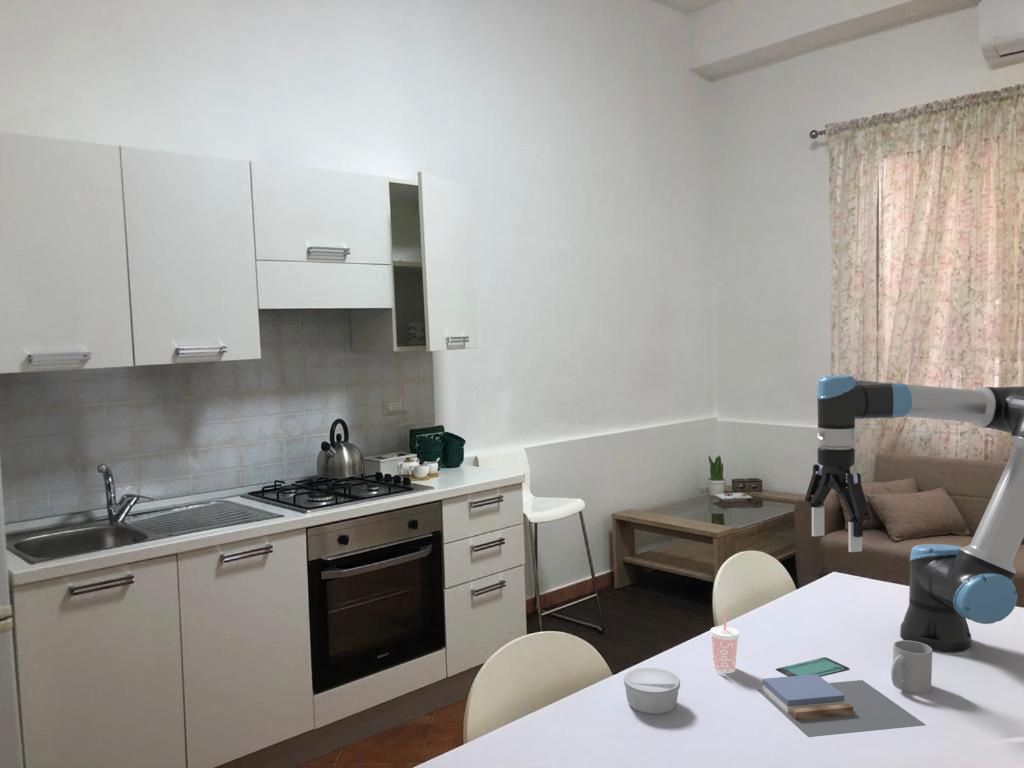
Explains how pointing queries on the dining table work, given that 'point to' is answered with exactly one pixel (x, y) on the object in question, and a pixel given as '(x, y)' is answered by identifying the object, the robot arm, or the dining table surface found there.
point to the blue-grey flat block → (801, 692)
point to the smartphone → (813, 668)
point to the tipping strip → (822, 711)
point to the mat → (855, 712)
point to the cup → (912, 666)
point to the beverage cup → (724, 648)
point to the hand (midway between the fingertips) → (836, 543)
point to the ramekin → (651, 690)
